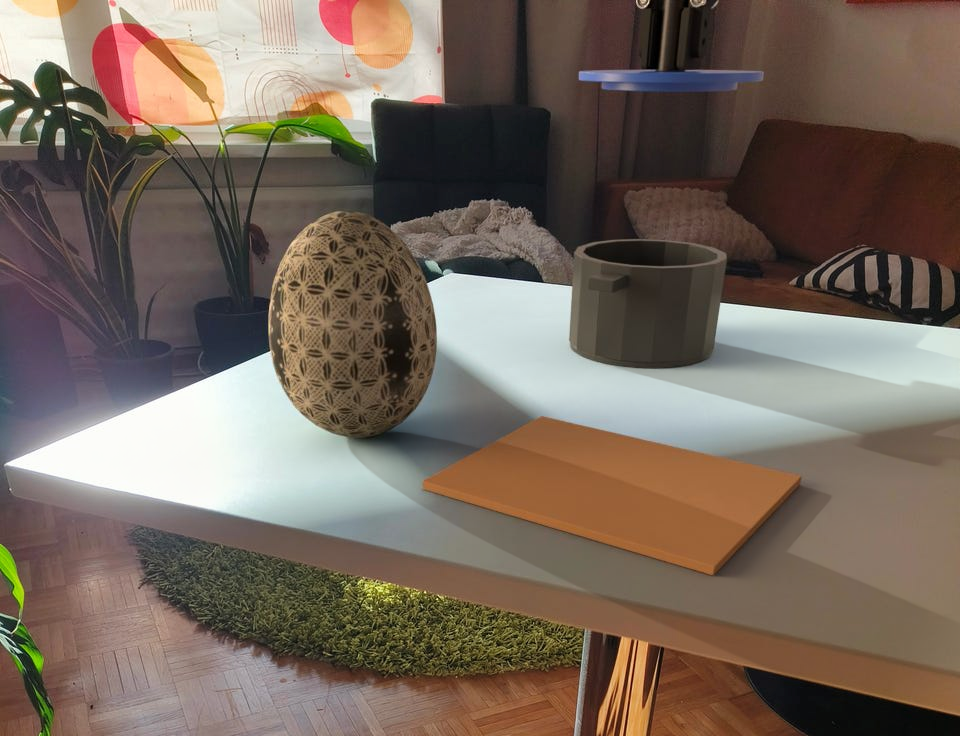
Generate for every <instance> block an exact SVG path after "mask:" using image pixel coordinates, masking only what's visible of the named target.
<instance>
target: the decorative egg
mask: <svg viewBox="0 0 960 736" xmlns="http://www.w3.org/2000/svg"><path fill="white" fill-rule="evenodd" d="M270 293H271V294H270V300H269V301H270V302H269V309H268V343H269V344H268V345H269V350H270V351H269V352H270V357H271V361H272V366H273V368H274V372H275V374H276V377H277V380H278V381H279V384H280V386H281V388H282V390H283V392H284V394H285V395H286V397H287V399H288V400H289V401H290V402H291V404H292V405H293V407H294V408H295V409H296V410H297V411H298V412H299V414H301V415H302V416H303V417H304V418H305V419H307V420H308V421H309V422H311V423H312V424H314V425H315V427H318V428H320V429H322V430H324V431H326V432H328V433H331V434H333V435H337V436H340V437H346V438H350V439H362V438H363V439H364V438H369V437H370V438H371V437H374V436H378V435H382V434H383V433H386V432H389V431H390V430H392V429H394V428H395V427H397V426H399V425H400V424H402V423H403V422H404V421H405V420H406V419H407V418H408V417H409V416H410V415H411V414H413V412H414V411H415V410H416V409H417V408H418V407H419V405H420V403H421V402H422V400H423V398H424V397H425V395H426V393H427V391H428V388H429V386H430V384H431V381H432V377H433V374H434V371H435V365H436V359H437V358H436V357H437V347H438V334H437V331H438V330H437V329H438V328H437V318H436V313H435V308H434V307H435V306H434V302H433V299H432V295H431V291H430V288H429V285H428V282H427V279H426V277H425V274H424V272H423V270H422V268H421V266H420V264H419V262H418V260H417V259H416V257H415V256H414V255H413V252H412V251H411V250H410V248H409V247H408V245H407V244H406V243H405V242H404V241H403V240H402V238H401V237H400V236H399V235H398V234H397V233H396V232H395V231H394V230H392V229H391V227H389V226H388V225H387V224H385V223H384V222H383V221H381V220H379V219H378V218H375V217H374V216H371V215H369V214H367V213H363V212H359V211H352V210H351V211H350V210H340V211H334V212H333V211H332V212H330V213H328V214H325V215H323V216H321V217H319V218H318V219H316V220H314V221H312V222H311V223H309V224H308V225H307V226H306V227H304V228H303V229H302V230H301V231H300V232H299V233H298V234H297V236H296V237H295V238H294V240H292V241H291V243H290V244H289V246H288V247H287V249H286V251H285V253H284V254H283V257H282V258H281V261H280V262H279V266H278V268H277V271H276V274H275V276H274V279H273V283H272V286H271V292H270Z"/></svg>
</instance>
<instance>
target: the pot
mask: <svg viewBox="0 0 960 736" xmlns="http://www.w3.org/2000/svg"><path fill="white" fill-rule="evenodd" d="M727 256H728V255H727V253H726V252H724V251H722V250H720V249H718V248H715V247H713V246H708V245H703V244H700V243H694V242H686V241H677V240H668V239H647V238H646V239H645V238H634V239H633V238H631V239H629V238H627V239H610V240H609V239H608V240H601V241H593V242H590V243H586V244H583V245H580V246H577V247H576V248H575V251H574V253H573V267H572V268H573V269H572V282H571V283H572V285H571V300H570V302H571V303H570V317H569V333H568V334H569V336H568V341H569V348H570V349H571V350H572V351H573V352H574V353H575V354H577V355H579V356H581V357H583V358H585V359H588V360H591V361H594V362H598V363H602V364H606V365H613V366H617V367H618V366H619V367H626V368H638V369H639V368H640V369H665V368H667V369H668V368H677V367H684V365H685V366H689V365H694V364H698V363H701V362H703V361H705V360H707V359H709V358H710V357H711V356H712V354H713V351H714V348H715V342H716V334H717V327H718V321H719V315H720V308H721V302H722V295H723V288H724V282H725V275H726V267H727V262H728V261H727V260H728V258H727Z"/></svg>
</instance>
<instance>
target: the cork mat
mask: <svg viewBox="0 0 960 736" xmlns="http://www.w3.org/2000/svg"><path fill="white" fill-rule="evenodd" d="M802 478H803V476H801V475H798V474H794V473H791V472H786V471H782V470H777V469H773V468H768V467H764V466H759V465H756V464H750V463H747V462H743V461H739V460H733V459H730V458H725V457H720V456H716V455H712V454H708V453H704V452H699V451H695V450H691V449H686V448H683V447H682V448H681V447H678V446H674V445H669V444H666V443H665V444H664V443H661V442H656V441H651V440H647V439H642V438H639V437H634V436H629V435H626V434H622V433H617V432H612V431H608V430H605V429H599V428H595V427H591V426H586V425H582V424H578V423H573V422H570V421H565V420H561V419H556V418H553V417H548V416H544V415H541V416H539V417H537V418H536V419H534V420H532V421H530V422H528V423H526V424H525V425H522V426H521V427H519V428H517V429H516V430H513V431H512V432H510V433H508V434H506V435H504V436H502V437H500V438H499V439H497V440H494V441H493V442H492V443H490V444H488V445H485V446H484V447H482V448H480V449H479V450H477V451H475V452H473V453H471V454H470V455H468V456H466V457H464V458H462V459H461V460H458V461H457V462H455V463H453V464H451V465H449V466H447V467H446V468H444V469H442V470H440V471H438V472H437V473H434V474H433V475H431V476H430V477H427V478H426V479H424V480H422V490H424V491H428V492H430V493H431V492H432V493H433V494H434V493H435V494H438V495H441V496H445V497H448V498H451V499H455V500H458V501H461V502H464V503H468V504H471V505H475V506H478V507H482V508H484V509H488V510H492V511H495V512H498V513H501V514H505V515H509V516H512V517H515V518H519V519H520V520H521V519H522V520H524V521H529V522H532V523H534V524H538V525H542V526H545V527H548V528H552V529H554V530H555V529H556V530H559V531H561V532H566V533H568V534H571V535H575V536H579V537H582V538H586V539H589V540H592V541H595V542H598V543H602V544H606V545H609V546H613V547H615V548H619V549H622V550H625V551H629V552H632V553H636V554H639V555H641V556H642V555H643V556H646V557H650V558H652V559H656V560H659V561H663V562H666V563H669V564H673V565H676V566H679V567H683V568H686V569H689V570H693V571H695V572H696V571H697V572H700V573H704V574H706V575H709V576H715V575H716V574H717V573H718V572H719V570H720V569H721V568H723V566H724V565H726V563H727V562H728V561H729V560H730V559H731V558H732V557H733V556H734V554H736V552H738V550H739V549H740V548H741V547H742V546H743V545H744V544H745V543H746V542H747V541H748V540H749V539H750V537H752V536H753V535H754V534H755V533H756V532H757V530H758V529H759V528H760V527H761V526H762V525H763V524H764V523H765V522H766V521H767V520H768V519H769V517H771V516H772V514H773V513H774V512H775V511H776V510H777V509H778V508H779V507H780V506H781V505H782V504H783V503H784V502H785V501H786V499H788V498H789V497H790V496H791V494H792V493H793V492H794V491H795V490H796V489H797V488H798V487H799V486H800V485H801V483H802V482H801V481H802Z"/></svg>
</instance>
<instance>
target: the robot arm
mask: <svg viewBox="0 0 960 736" xmlns="http://www.w3.org/2000/svg"><path fill="white" fill-rule="evenodd" d="M661 1H662V0H635V3H636V6H637V8H639V9H641V13H640V14H641V17H640V27H639V28H640V29H639V38H638V39H639V40H638V56H639V57H640V59H641V60H640V70H655V67H656V56H657V45H658V34H659V23H660V12H661ZM718 3H719V0H689V7H688V8H684V10H683V11H682V16H681V26H680V36H679V45H678V55H677V68H679V70H701V69H700V68H701V65H702V59H704V58H705V56H706V54H707V50H708V41H709V34H710V25H711V24H710V23H711V15H712V9H714V8H715V7H716V6H717V5H718Z"/></svg>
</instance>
